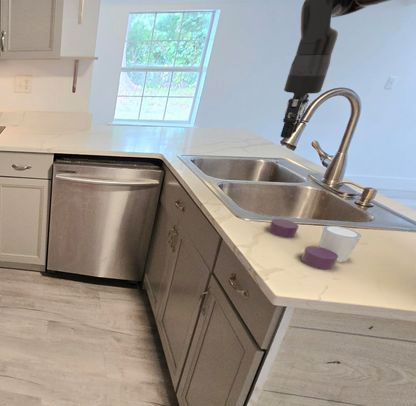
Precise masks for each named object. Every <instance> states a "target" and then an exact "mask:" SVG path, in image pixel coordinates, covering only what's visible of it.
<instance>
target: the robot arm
mask: <svg viewBox="0 0 416 406" xmlns="http://www.w3.org/2000/svg"><path fill="white" fill-rule="evenodd" d="M391 1H392V0H304V1H303V4H302V6H301V10H300V39H299V42H298V45H297V48H296V52H295V55H294V57H293V60H292V62H291V66H290V68H289V72H288V74H287V78H286V81H285V85H284V88H283V91H284V92H286V93H290V94H291V93H292V94H293V96H292V98H290V99H288V101H287V105H286V109H285V112H284V117H283V118H282V122H283V125H282V130H281V133H280V138H284V139H291V138H292V135H293V134H294V133H296V132H297V129H298V125H299V123H300V120H301V118H302V117H303V115H304V114H305V112H306V110H307V106H308V105H309V102H310V99H309V98H310V94H319V93H320V92H322V88H323V85H324V83H325V80H326V77H327V74H328V71H329V69H330V65H331V61H332V60H331V59H332V54H333V51H334V49H335V47H336V43H337V40H338V35H339V31H338V30H337V29H335V28H332V27H331V24H332V23H331V21H332V19H333V18H338V17H343V16H347V15H350V14H353V13H356V12H358V11H361V10H363V9H366V8H367V7H370V6H376V5H379V4H383V3H386V2H391Z"/></svg>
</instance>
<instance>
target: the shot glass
mask: <svg viewBox="0 0 416 406" xmlns="http://www.w3.org/2000/svg"><path fill="white" fill-rule="evenodd" d="M361 238H362V235H361V234H360V233H359V232H358V231H356V230H354V229H351V228H348V227H344V226H339V225H324V226H323V227H322V231H321V236H320V240H319V244H318V247H321V248H325V249H328V250H330V251H333V252H334V253H336V254H337V255H338V258H337V261H336V262H338V263H345V262H347V261H348V260H349V257H350V256H351V254H352V253H353V251H354V249H355V248H356V246H357V244H358V243H359V242H360V240H361Z"/></svg>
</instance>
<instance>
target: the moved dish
mask: <svg viewBox="0 0 416 406" xmlns="http://www.w3.org/2000/svg"><path fill="white" fill-rule="evenodd" d="M298 229H299V224H298V223H296V222H294V221H292V220H289V219H285V218H273V219H271V221H270V224H269V227H268V232H269V233H271V234H272V235H274V236H276V237H281V238H286V239H291V238H295V236H296V235H297V233H298Z"/></svg>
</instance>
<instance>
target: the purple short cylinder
mask: <svg viewBox="0 0 416 406" xmlns="http://www.w3.org/2000/svg"><path fill="white" fill-rule="evenodd" d="M337 258H338V255H337V254H336V253H334V252H333V251H330V250H328V249H325V248H321V247H319V246H315V245H310V246H306V247H305V248H304V251H303V253H302V256H301V257H300V259H301V261H302V262H303V263H304V264H306V265H307V266H309V267H312V268H315V269H319V270H329V271H330V270H333V269H334V268H335V265H336V263H337V262H338V261H337Z"/></svg>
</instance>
